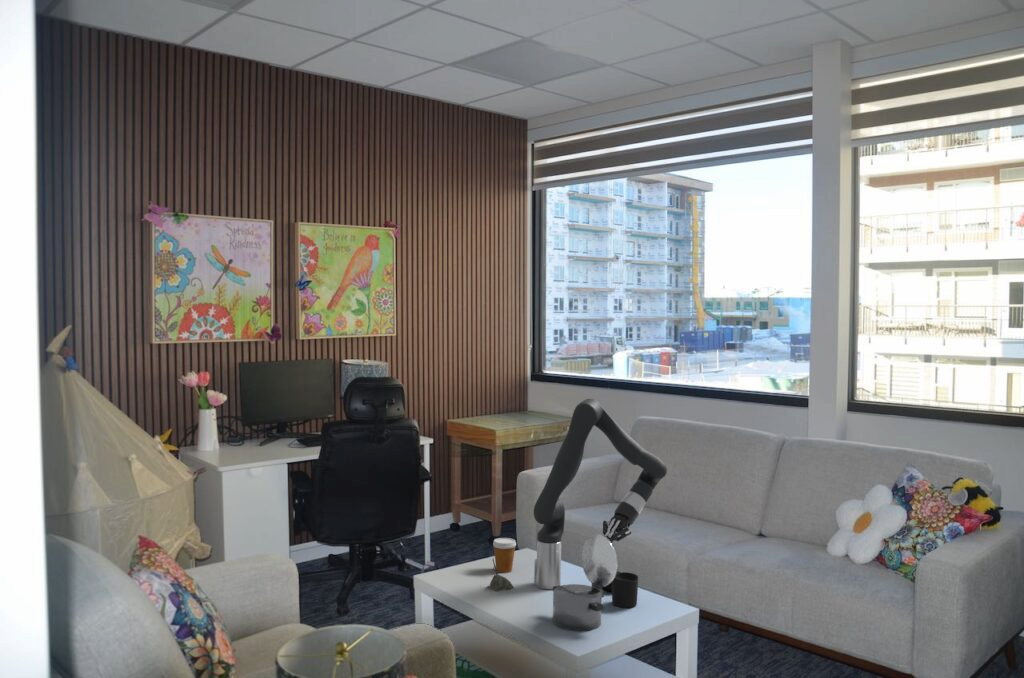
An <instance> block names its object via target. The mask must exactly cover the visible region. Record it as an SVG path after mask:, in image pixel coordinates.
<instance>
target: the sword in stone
mask: <svg viewBox="0 0 1024 678" xmlns="http://www.w3.org/2000/svg"><path fill="white" fill-rule="evenodd" d="M492 563H493V567H492V568H493V569H492V570H493V572H494V573H495V574H494V575H493V577H492V579H491V581H490V584H489V585H487V586H486V588H487V589H488V590H490V591H492V592H499V591H511V590H513V589H515V587H514V585H513V584H512V582H511V581H510V580H508V579H507V578H506V577H505V576H503V575H500V574H498V569H497V570H496V567H497V566H496V562H495V558H492Z"/></svg>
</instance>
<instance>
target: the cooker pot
mask: <svg viewBox="0 0 1024 678" xmlns="http://www.w3.org/2000/svg"><path fill="white" fill-rule="evenodd" d="M552 593H553V594H552V597H553V598H552V624H553V625H555V626H556V627H558V628H559V629H560V628H561V629H562V630H566V631H571V632H572V631H573V632H587V631H593V630H596V629H598V628H600V626H601V625H602V611H604V610H605V609H604V608H605V607H604V606H605V605H604V604H602V598H604V597H605V592H604V590H601V589H598V588H596V587H592V585H591V586H590V585H587V584H575V583H571V584H563V585H561V586H560V585H559V586H554V587H553V589H552Z"/></svg>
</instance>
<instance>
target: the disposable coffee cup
mask: <svg viewBox="0 0 1024 678" xmlns="http://www.w3.org/2000/svg"><path fill="white" fill-rule="evenodd" d="M492 545H493V551H494V553H493V554H494V563H495V566H497V567H496V570H497V569H498V571H497V573H505V574H506V573H510V572H512V570H513V565H514V564H513V563H514V559H515V550H516V549H515V548H516V546H517V542H516V540H515V539H513V538H510V537H499V538H494V540H493V543H492Z"/></svg>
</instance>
